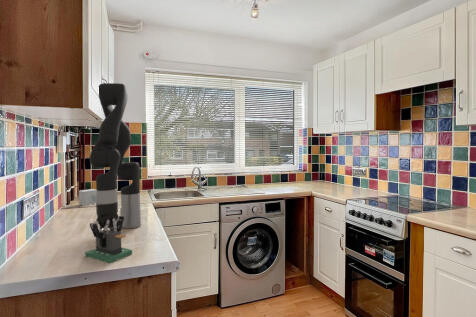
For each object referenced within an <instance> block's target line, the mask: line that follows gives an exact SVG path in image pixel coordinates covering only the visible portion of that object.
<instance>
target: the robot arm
mask: <svg viewBox="0 0 476 317" xmlns="http://www.w3.org/2000/svg"><path fill="white" fill-rule="evenodd" d="M98 87H99V94H98V98H99V102H100V105H101V108H102V111H103V114H104V117H105V118H104V119H103V121H102V122H101V124H100V127H99V132H98V137H97V138H98V139H97V141H96V142H95V144H94V145H93V148H92V150H91V152H90V155H89V163H90V165H91V166H92V167H94V168H95V169H96V168H97V169H99V168H100V169H101V168H109V169H108V171H107V172H106V173H105V172H103V173H100V174H98V175H97V176H96V177H95V185H96V186H95V189H96V204H95V208H96V215H97V217H96V219H95V220H96V221H94V222H93V223H91V222H90V223H89V227H90V230H91V232H92V236H93V237H94V238H96V237H97V238H100V246H101V247H102V248H106V238H105V237H106V232H107V230H112V231H117V232H121V231H122V229H134V228H135V229H136V228H140V226H141V225H142V224H141V223H142V221H141V220H142V218H141V215H142V214H141V213H142V212H141V187H140V186H141V185H140V184H141V182H140V177H141V166H140V163H139V162H138V161H137V162H136V161H127V162H125V161H124V157H125V155H126V153H127V151H128V150H129V148H130V147H131V144H132V136H131V132H130V131H131V130H130V128H129V126H128V124H127V123H126V122H125V121H124V120H123V116H124V113H125V110H126V106H127V104H128V103H127V102H128V99H129V98H128V97H129V96H128V89H127V87H126V85H125V83H121V82H120V83H117V82H116V83H114V82H111V83H107V82H103V83H100V84H99V85H98ZM113 106H114V107H113ZM117 178H118V179H119V181H132V182H131V183H130V184H129V185H126V186H123V187H122V188H120V201H121V202H120V205H121V206H120V209H119V204H118V202H119V201H118V200H119V199H118V190H117ZM119 211H120V212H119ZM118 212H119V214H120V215H119V214H118Z"/></svg>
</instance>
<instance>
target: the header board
mask: <svg viewBox="0 0 476 317" xmlns="http://www.w3.org/2000/svg"><path fill="white" fill-rule="evenodd" d="M132 254H133V250H132V249H130V248H125V247H122V246H121V248H119V249H117V250H114V251H111V250H107V249H103V248H99V247H96V246H95V248H94V249H91V250H87V251H85V254H84V256H85V257H88V258H90V257H91V258H90V259H94V260H97V259H98V261H101V262H104V261H105V263H109V264H110V263H113V262H116V261H119V260H120V259H123V258H124V257H128V256H129V255H132Z"/></svg>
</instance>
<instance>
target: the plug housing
mask: <svg viewBox="0 0 476 317" xmlns="http://www.w3.org/2000/svg"><path fill="white" fill-rule="evenodd" d="M105 238H106V248H103V249H107V250H111V251H114V250H117V249H119V248H121V247H122V239H124V238H126V235H123V234H122V232H121V231H120V232H117V231H112V230H110V229H108V230H107V232H106V237H105ZM96 247H99V248H102V247H101V246H100V238H97V237H95V248H96Z"/></svg>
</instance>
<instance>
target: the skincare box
mask: <svg viewBox="0 0 476 317" xmlns="http://www.w3.org/2000/svg"><path fill="white" fill-rule="evenodd" d="M78 200H79V201H78V202H79V203H78V204H80V205H79V206H81V205H87V206H90V205H89V204H94V205H96V204H95V203H96V188H95V189H94V188H90V189H82V190H81V189H80V190H78Z"/></svg>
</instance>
